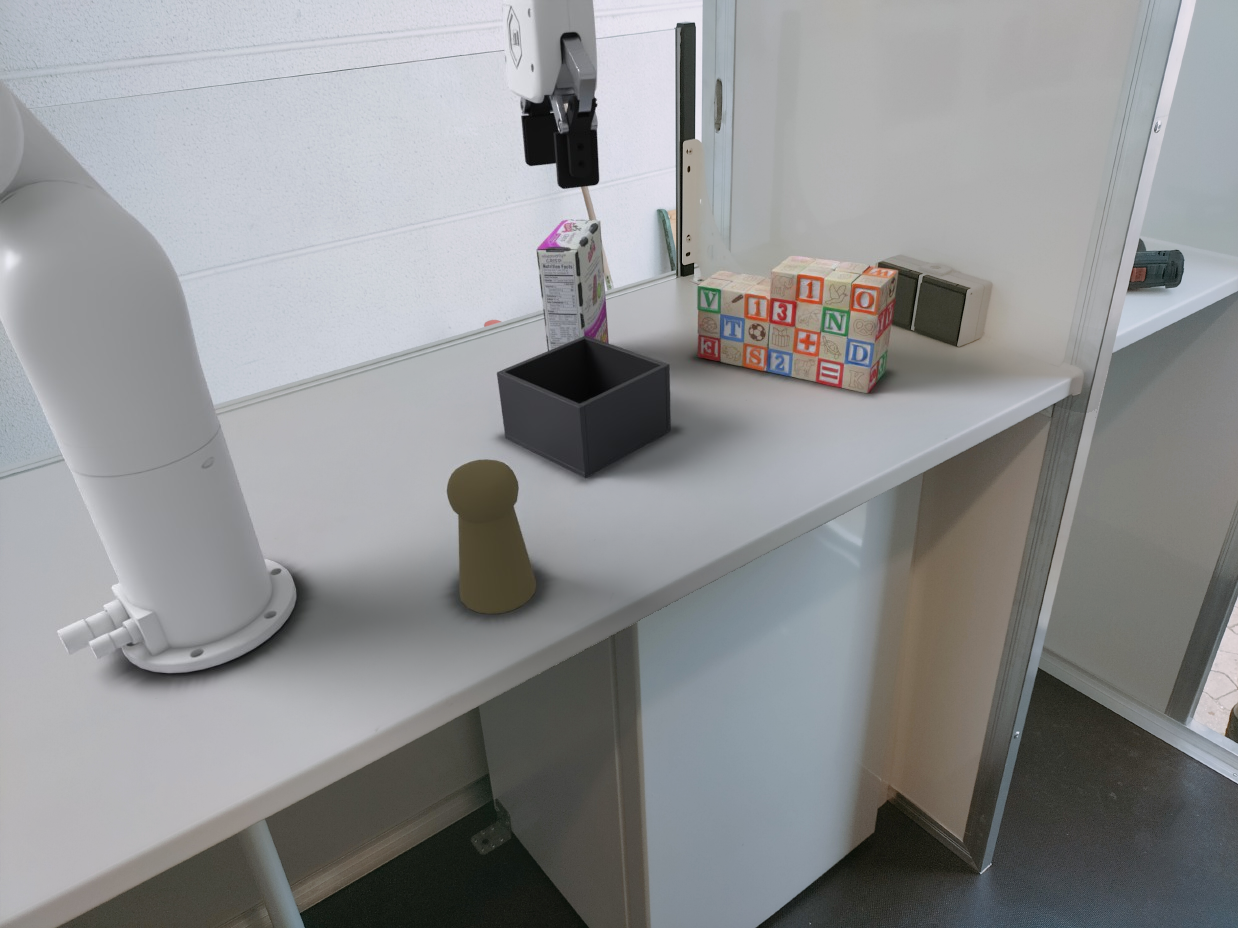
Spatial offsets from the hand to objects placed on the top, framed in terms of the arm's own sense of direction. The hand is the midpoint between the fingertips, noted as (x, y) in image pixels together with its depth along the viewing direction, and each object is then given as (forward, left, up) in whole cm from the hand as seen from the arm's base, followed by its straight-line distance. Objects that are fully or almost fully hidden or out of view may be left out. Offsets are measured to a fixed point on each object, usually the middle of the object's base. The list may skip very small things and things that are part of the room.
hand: (560, 174), depth 69 cm
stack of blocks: (+32, -2, -28) cm, 42 cm away
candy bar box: (+16, +17, -28) cm, 36 cm away
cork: (-17, -9, -28) cm, 34 cm away
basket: (+5, +4, -27) cm, 28 cm away
